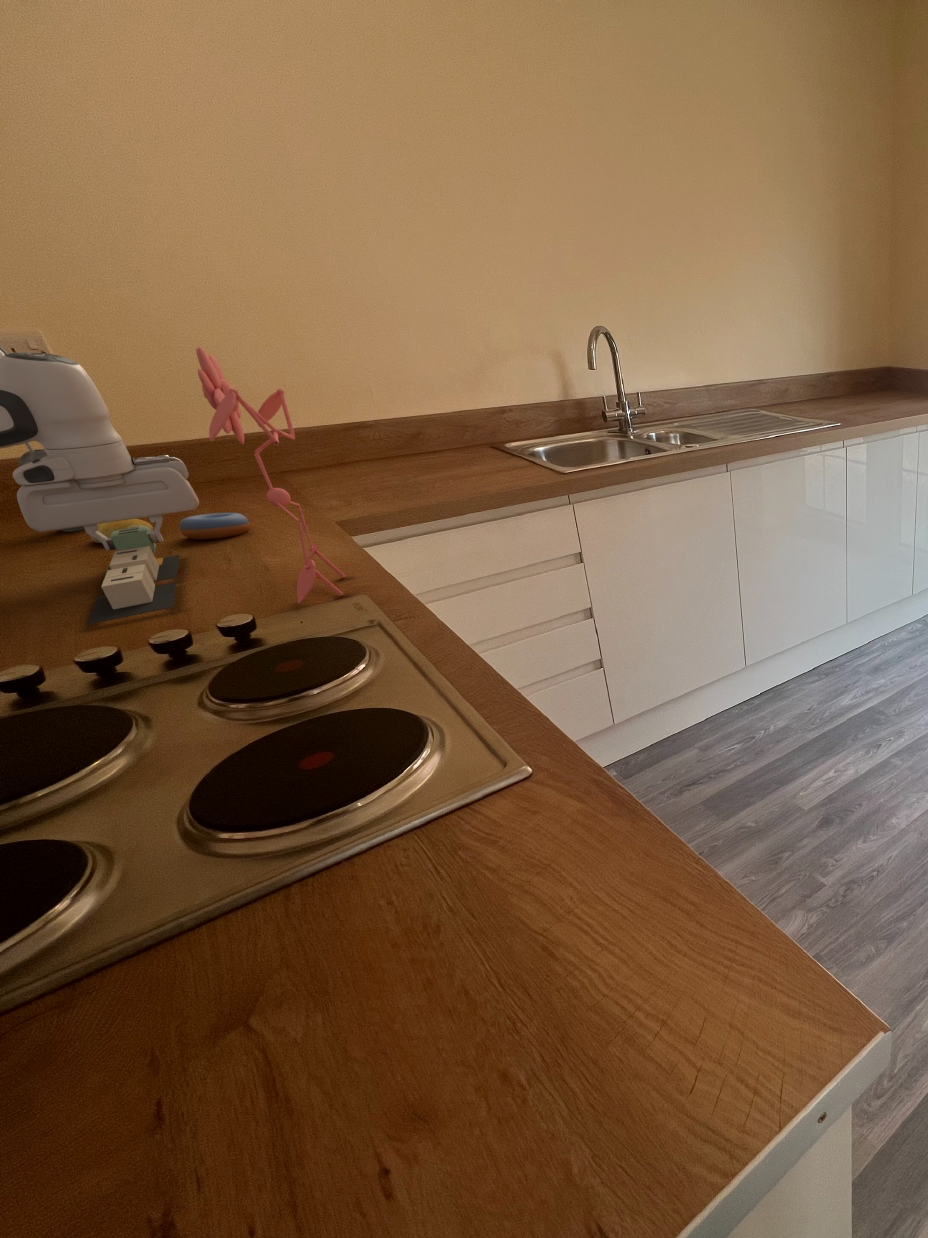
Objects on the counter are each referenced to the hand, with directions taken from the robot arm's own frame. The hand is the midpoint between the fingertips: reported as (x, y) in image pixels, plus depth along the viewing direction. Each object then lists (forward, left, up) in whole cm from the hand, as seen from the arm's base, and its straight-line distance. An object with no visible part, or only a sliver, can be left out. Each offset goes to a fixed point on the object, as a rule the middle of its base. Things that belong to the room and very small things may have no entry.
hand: (135, 545), depth 116 cm
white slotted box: (0, -22, -3) cm, 22 cm away
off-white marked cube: (0, -5, -3) cm, 6 cm away
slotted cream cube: (0, -10, -3) cm, 10 cm away
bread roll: (-4, +25, -4) cm, 26 cm away
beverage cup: (-12, +41, -4) cm, 43 cm away
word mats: (0, -13, -4) cm, 13 cm away
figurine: (+18, -32, -4) cm, 37 cm away
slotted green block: (0, 0, -1) cm, 1 cm away
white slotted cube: (0, -17, -3) cm, 17 cm away
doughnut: (+10, +13, -4) cm, 17 cm away
